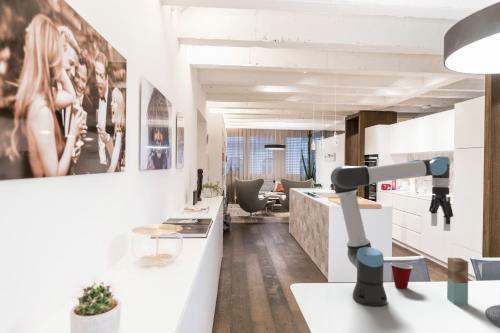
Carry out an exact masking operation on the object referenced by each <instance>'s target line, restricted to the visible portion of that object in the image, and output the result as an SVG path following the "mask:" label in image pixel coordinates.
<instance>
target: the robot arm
mask: <svg viewBox="0 0 500 333" xmlns="http://www.w3.org/2000/svg"><path fill="white" fill-rule="evenodd" d="M450 163H451V162H450V157H449V156H445V155H444V156H443V155H442V156H433V157H432V158H430V159H410V160H409V161H408V162H401V163H393V164H384V165H377V166H367V165H359V166H358V165H357V166H356V165H340V166H337V167H335V168H334V169H333V170H332V172H331V174H330V181H331V184H332V185H333V187H334V193H335V195H337V196H338V197H339V200H340V204H341V205H340V206H341V209H342V210H341V211H342V214H343V219H344V223H345V229H346V233H347V237H348V241H347V243H346V245H347V246H346V247H347V257H348V260H349V262H350V263H351V265H353V266H354V267H355V268H356V282H355V286H354V288H353V291H352V299H353V300H354V301H355V302H357V303H359V304H362V305H366V306H369V307H383V306H386V305H387V303H388V298H387V293H386V291H385V288H384V263H385V259H384V254H383V252H382V251H381V250H379V249H377V248H374V247H372V244H371V240H370V239H368V238H367V236H366V232H365V227H364V223H363V219H362V213H361V209H360V206H359V200H358V197H357V192H358V191H359V188H361V187H367V186H370V185H371V183H381V182H387V181H389V182H390V181H397V180H403V179H404V180H405V179H411V178H420V177H428V176H429V177H430V176H432V178H431V186H432V187H431V193H432V195H431V201H430V205H429V209H428V212H430V225H431V227H438V210H439V208H440V207H441V210H442V213H443V232H444V231H445V232H451V218H453V217H454V213H453V208H452V204H451V197H450V196H447V195H450V187H449V186H450V183H451V180H450V174H451V173H450V166H451V164H450Z"/></svg>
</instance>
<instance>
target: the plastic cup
mask: <svg viewBox="0 0 500 333" xmlns="http://www.w3.org/2000/svg"><path fill="white" fill-rule="evenodd" d="M390 266H391V271H392V278H393V281H394V283H393V284H394V287H396V288H397V289H400V290H406V289H408V286H409V281H410V277H411V272H412V270H413V269H414V267H413V266H412V265H410V264H407V263H402V262H390Z"/></svg>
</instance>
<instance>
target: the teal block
mask: <svg viewBox="0 0 500 333" xmlns="http://www.w3.org/2000/svg"><path fill="white" fill-rule="evenodd" d="M446 278H447V277H446ZM446 282H447V283H446V284H447V288H446V289H447V292H446V298H447V300H448V301H449V302H450V303H451V302H452V303H451V304H453V305H456V306H457V305H458V306H468V305H469V283H468V284H466V283H454V282H452V281H451V280H449V279H448V278H447V279H446Z"/></svg>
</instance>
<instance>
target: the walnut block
mask: <svg viewBox="0 0 500 333" xmlns="http://www.w3.org/2000/svg"><path fill="white" fill-rule="evenodd" d="M446 278H448V279H449V280H451V281H452V282H454V283H466V284H468V285H469V261H467V260H465V259H464V258H461V257H447V277H446Z"/></svg>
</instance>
